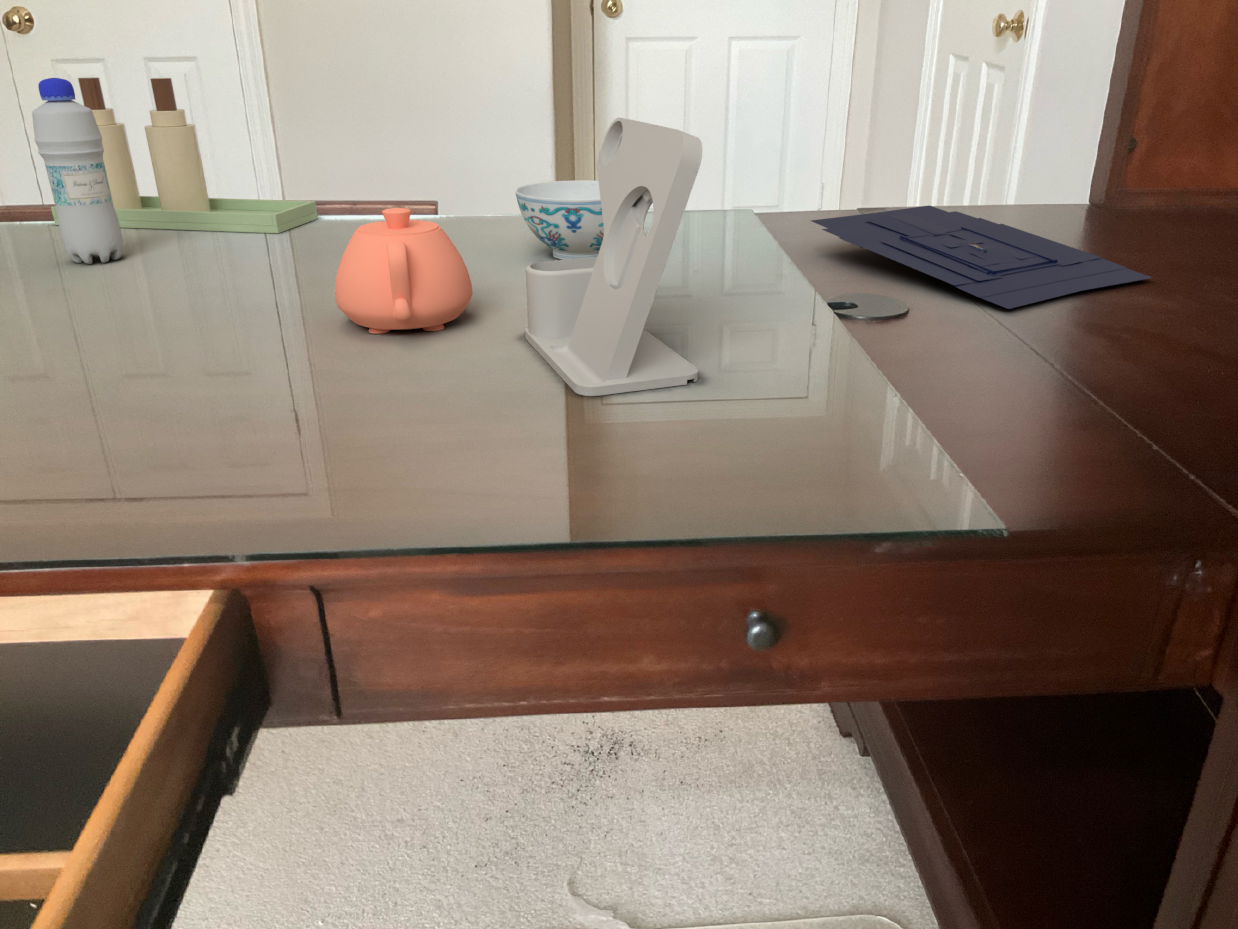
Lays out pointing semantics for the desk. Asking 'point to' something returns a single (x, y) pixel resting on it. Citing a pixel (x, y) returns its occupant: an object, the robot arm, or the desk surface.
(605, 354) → the phone holder
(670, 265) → the desk surface
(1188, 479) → the desk surface
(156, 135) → the stoneware bottle
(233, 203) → the tray
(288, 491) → the desk surface
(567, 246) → the chinaware
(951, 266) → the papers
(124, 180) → the stoneware bottle
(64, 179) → the bottle
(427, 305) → the orange teapot
